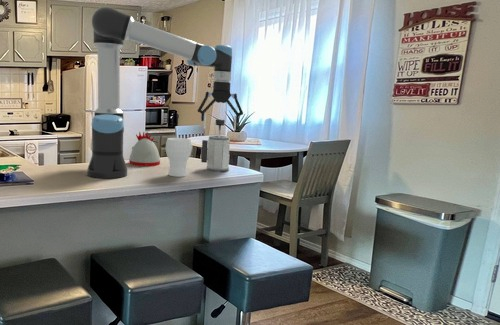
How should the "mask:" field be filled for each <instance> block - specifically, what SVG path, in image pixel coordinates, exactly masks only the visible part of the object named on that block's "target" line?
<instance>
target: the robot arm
mask: <svg viewBox="0 0 500 325" xmlns="http://www.w3.org/2000/svg"><path fill="white" fill-rule="evenodd" d="M91 25H92V26H91V27H92V29H93V32H92V33H93V45H94V46H95V47H96V48H97V101H98V102H97V104H98V106H97V107H96V109H95V110H94V111H93V112H94V115H93V117H92V122H91V132H92V133H91V137H92V138H91V157H90V159H89V160H90V161H89V164H88V167H87V170H86V172H87V173H86V175H87V176H88V177H92V178H97V179H117V178H122V177H126V176H128V167H127V164H126V161H125V158H124V132H125V124H124V123H125V122H124V111H123V110H122V109H121V106H120V100H121V98H120V97H121V96H120V94H121V93H120V92H121V91H120V86H121V84H120V78H121V76H120V74H121V73H120V68H121V67H120V66H121V65H120V60H121V59H120V56H121V54H120V51H121V49H122V48H123V47H124V42H126V41H132V42H134V43H135V42H136V43H137V44H140V45H144V46H147V47H149V48H153V49H155V50H159V51H161V52H165V53H167V54H171V55H174V56H176V57H180V58H183V59H185V60H186V63H187V65H188V66H193V67H208V68H209V67H210V68H213V80H214V81H213V87H212V89H213V90H212V92H210V91H206V92H205V94H204V95H205V96H204V98H203V100H202V101H201V103H200V105H199V107H198V109H197V113H200V114H201V117H200V118H201V122H203V126H202V127H203V130H205V129H206V128H207V127H206V124H207V122H206V121H207V113H206V112H207V111H208V110H209V109H210V108H211V106H213V104H214V103H219V104H220V103H222V104H227V105H228V106H229V107H230V109H231V111H233V113H234V114H235V115H234V122H233V131H236V128H237V127H236V126H237V124H238V123H239V121H240V120H239V119H240V116H242V115H244V112H243V110H242V107H241V105H240V102H239V99H238V93H235V92H234V93H231V81H232V65H233V64H232V62H233V61H232V60H233V48H232V47H231V46H230V45H225V44H216V45H215V48H214V47H213V46H210V45H208V44H202V43H199V42H196V41H193V40H191V39H188V38H185V37H182V36H179V35H177V34H174V33H171V32H168V31H166V30H163V29H159V28H157V27H154V26H151V25H149V24H146V23H143V22H140V21H137V20H135V19H134V18H133V16H131V15H129V14H126V13H124V12H121V11H119V10H117V9H115V8H113V7H110V6H109V7H108V6H103V7H100V8H97V9H96V10H95V11H94V13H93V15H92V17H91ZM211 96H212V97H213V99H212V100H211V101H210V102H209V103H208V104H207V106H206V107H205V108H204V109H203V107H204V106H205V105H206V103H207V101H208V98H211ZM230 98H232V99H234V102H235V104H236V107H237V109H238V110H239V111H238V110H237V109H236V108H235V106H234V105H233V103H232V102H231V101H230Z"/></svg>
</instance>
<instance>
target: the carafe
mask: <svg viewBox="0 0 500 325" xmlns="http://www.w3.org/2000/svg"><path fill="white" fill-rule="evenodd" d="M201 142H202V143H201V144H202V145H201V160H200V161H201V163H206V170H207V171H211V172H218V173H220V172H223V173H224V172H228V171H229V170H230V169H229V162H230V144H231V143H230V142H231V140H230V136H227V135H220V137H218V135H209V136H208V139H207V140H206V139H202V141H201Z"/></svg>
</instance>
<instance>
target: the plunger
mask: <svg viewBox="0 0 500 325" xmlns="http://www.w3.org/2000/svg"><path fill="white" fill-rule="evenodd" d="M215 126H218V133H217V136H218V137H220V136H222V135H221V131H222V127H223V126H225V119H222V118H221V119H219V118H217V119H215Z"/></svg>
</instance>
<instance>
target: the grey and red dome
mask: <svg viewBox="0 0 500 325" xmlns="http://www.w3.org/2000/svg"><path fill="white" fill-rule="evenodd" d="M141 134H142V135H141ZM135 136H136V138H137V142H135V144H134V145H133V146H132V147H131V152H130V155H129V158H128V159H129V160H128V161H129V162H128V163H129V165H131V166H135V167H136V166H137V167H156V166H159V165H161V158H160V153H159V150H158V148H157V145H156V144H155V143H154V142H153V141H154V139H155V136H153V137H152V138H151V136H152V134H151V133H150V134H149V133H148V131H146V134H145V131H143V133H141V131H139V133H138V134H137V133H136V134H135Z"/></svg>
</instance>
